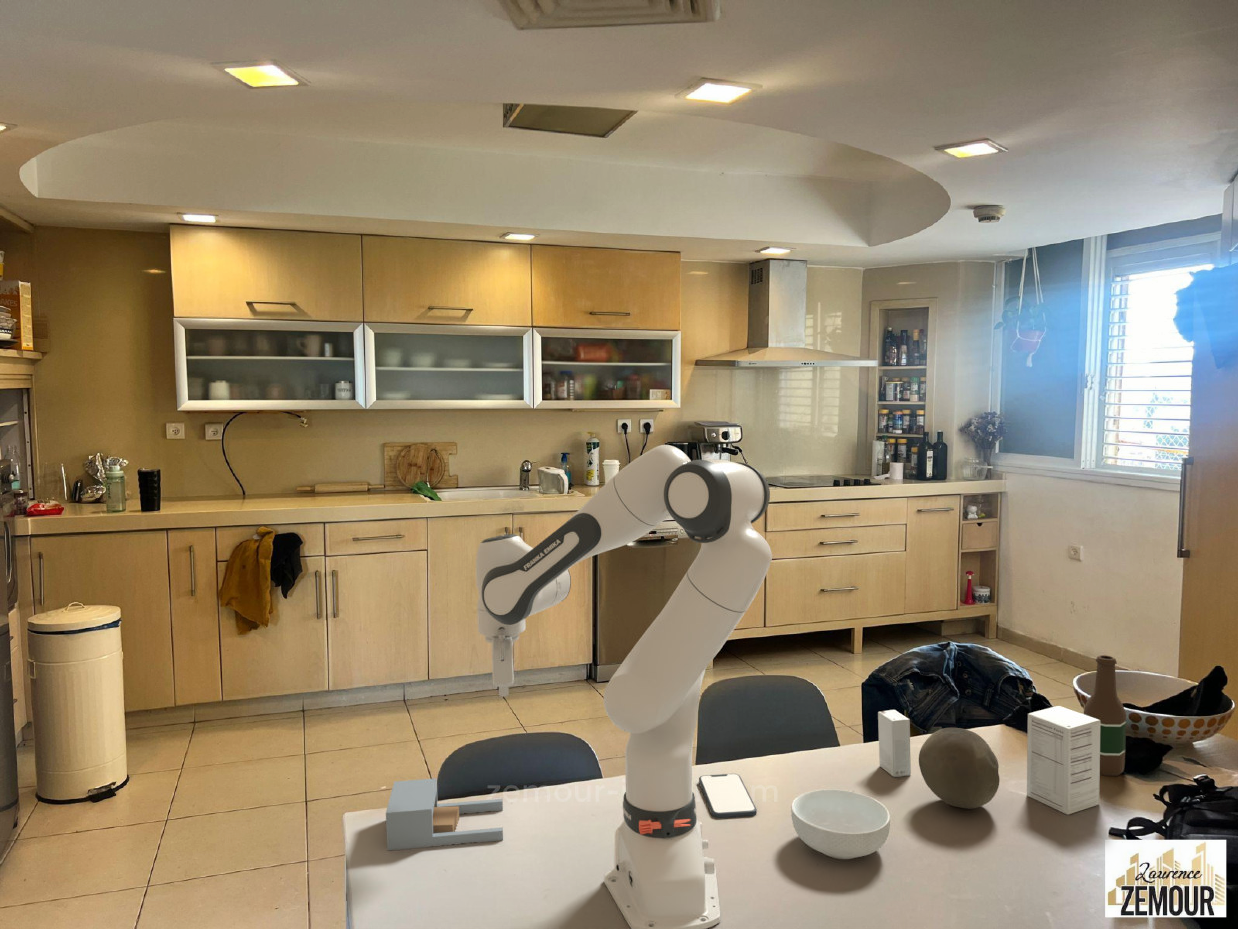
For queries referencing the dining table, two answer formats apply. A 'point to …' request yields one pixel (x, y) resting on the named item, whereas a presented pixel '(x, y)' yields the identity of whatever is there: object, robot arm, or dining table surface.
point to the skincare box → (894, 743)
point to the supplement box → (1063, 759)
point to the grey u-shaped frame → (430, 817)
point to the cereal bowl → (840, 822)
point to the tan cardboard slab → (445, 819)
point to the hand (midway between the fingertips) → (503, 693)
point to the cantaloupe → (959, 767)
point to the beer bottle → (1108, 717)
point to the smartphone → (727, 796)
